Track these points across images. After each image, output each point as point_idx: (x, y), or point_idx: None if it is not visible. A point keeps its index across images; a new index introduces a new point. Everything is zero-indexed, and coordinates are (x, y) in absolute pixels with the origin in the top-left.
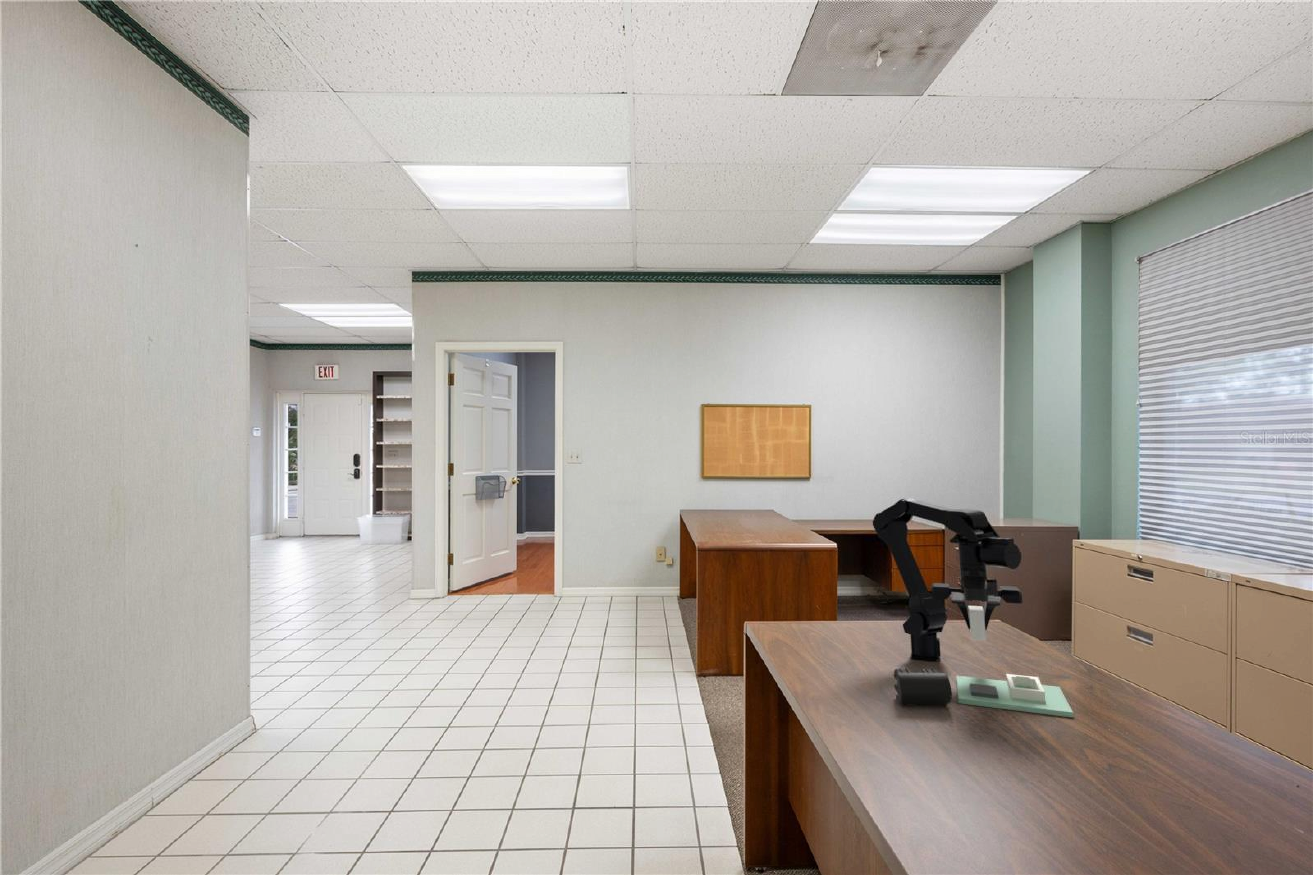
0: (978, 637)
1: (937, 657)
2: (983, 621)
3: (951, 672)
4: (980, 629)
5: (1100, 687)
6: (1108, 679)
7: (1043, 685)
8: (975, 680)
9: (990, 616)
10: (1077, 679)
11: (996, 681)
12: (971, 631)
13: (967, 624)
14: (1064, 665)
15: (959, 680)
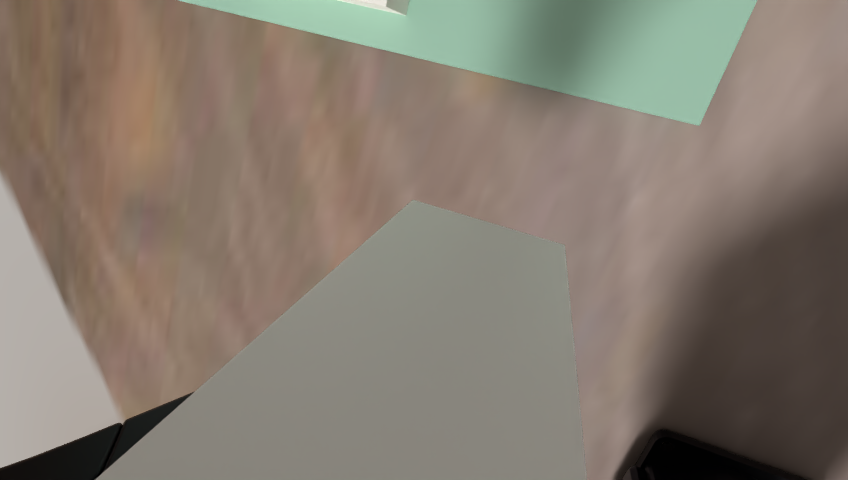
0: (478, 235)
1: (649, 463)
2: (298, 326)
3: (656, 263)
4: (419, 271)
5: (37, 93)
6: (13, 193)
7: (225, 6)
8: (598, 32)
9: (89, 437)
10: (101, 186)
11: (460, 35)
12: (557, 295)
13: None
14: (126, 340)
15: (728, 14)
